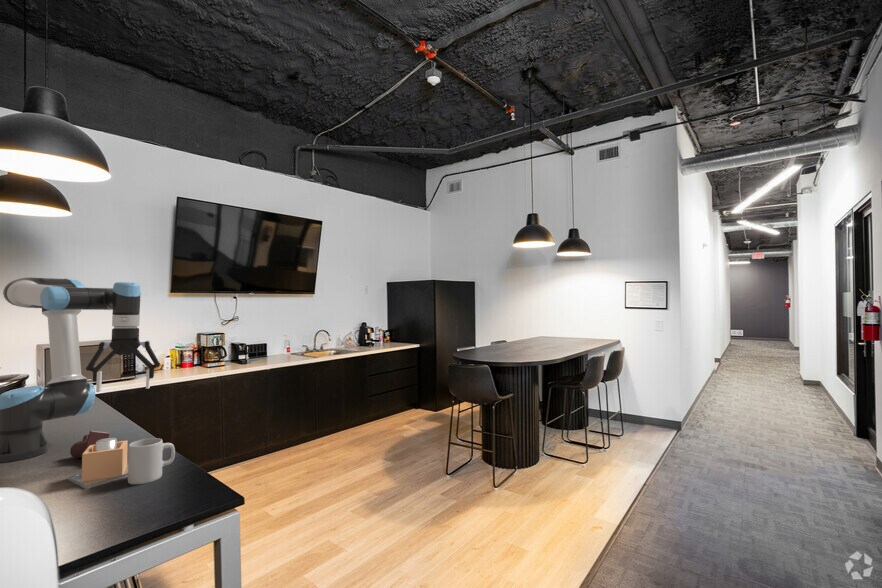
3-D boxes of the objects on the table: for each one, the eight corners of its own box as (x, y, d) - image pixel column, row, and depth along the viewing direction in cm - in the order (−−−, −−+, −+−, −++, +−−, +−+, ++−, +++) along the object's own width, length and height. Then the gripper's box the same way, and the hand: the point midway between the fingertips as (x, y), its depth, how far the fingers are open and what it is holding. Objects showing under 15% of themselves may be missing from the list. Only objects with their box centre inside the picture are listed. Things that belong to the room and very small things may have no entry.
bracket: (99, 459, 137) (108, 427, 141) (64, 464, 142) (74, 433, 146) (118, 460, 142) (126, 429, 147) (84, 465, 147) (92, 435, 151)
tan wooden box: (81, 482, 123) (82, 454, 123) (89, 471, 131) (89, 445, 131) (122, 475, 127) (122, 448, 128) (127, 465, 136) (127, 440, 136)
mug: (131, 487, 121) (132, 448, 122) (124, 479, 127) (125, 442, 127) (178, 475, 130) (179, 439, 130) (170, 468, 136) (171, 433, 136)
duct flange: (68, 480, 126) (69, 443, 127) (123, 465, 138) (123, 431, 139) (85, 489, 120) (86, 450, 121) (140, 472, 132) (141, 437, 133)
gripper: (75, 328, 135) (73, 394, 135) (167, 327, 146) (165, 388, 146) (82, 327, 142) (80, 390, 141) (170, 326, 153) (168, 384, 153)
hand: (123, 389), depth 144 cm, fingers open, 13 cm apart
